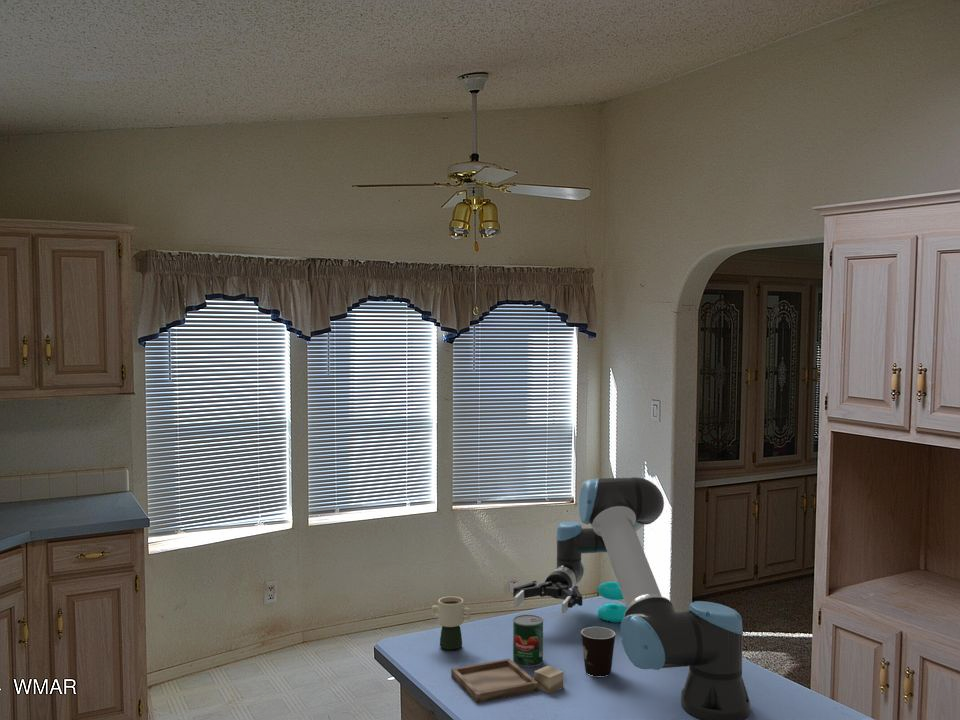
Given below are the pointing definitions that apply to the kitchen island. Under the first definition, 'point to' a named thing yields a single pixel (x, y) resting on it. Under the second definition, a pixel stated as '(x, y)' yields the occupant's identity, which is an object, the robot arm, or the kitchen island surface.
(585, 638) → the coffee mug
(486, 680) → the tray
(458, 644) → the character mug
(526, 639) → the canned tomato
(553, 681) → the wooden block
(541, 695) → the kitchen island surface
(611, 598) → the donuts
